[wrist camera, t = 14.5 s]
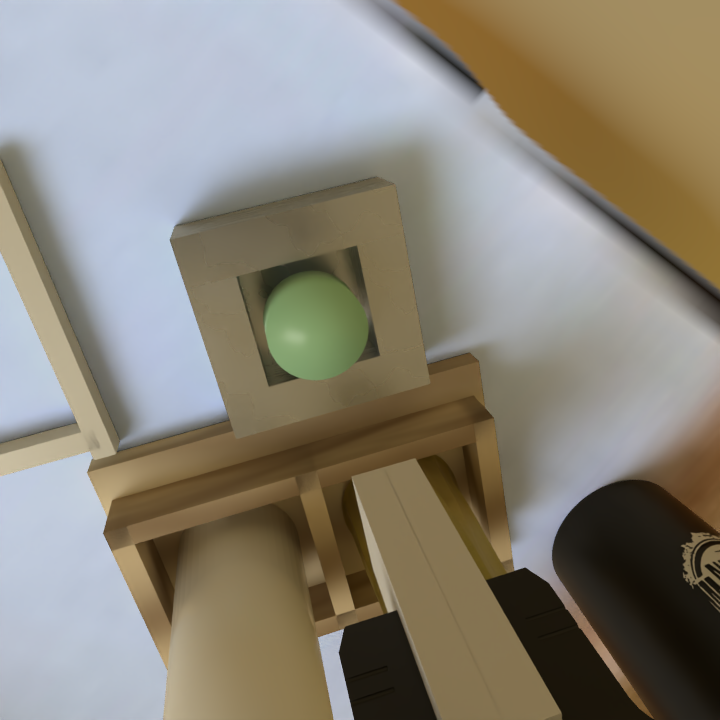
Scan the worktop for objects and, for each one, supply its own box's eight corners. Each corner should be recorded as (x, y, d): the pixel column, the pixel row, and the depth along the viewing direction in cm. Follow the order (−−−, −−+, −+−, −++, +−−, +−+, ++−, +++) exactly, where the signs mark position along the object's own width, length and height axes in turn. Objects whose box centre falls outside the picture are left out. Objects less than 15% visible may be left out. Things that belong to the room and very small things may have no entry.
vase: (319, 524, 32) (389, 804, 19) (381, 427, 31) (499, 658, 18) (415, 559, 34) (535, 833, 21) (476, 470, 33) (644, 705, 20)
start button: (251, 284, 25) (254, 298, 23) (347, 259, 26) (357, 271, 24) (276, 372, 27) (281, 391, 25) (366, 348, 27) (377, 364, 25)
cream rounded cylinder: (161, 518, 30) (121, 818, 17) (282, 482, 31) (328, 745, 18) (199, 610, 33) (188, 930, 20) (311, 575, 33) (368, 863, 21)
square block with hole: (174, 225, 27) (169, 239, 24) (377, 176, 28) (395, 184, 25) (234, 409, 30) (236, 439, 27) (411, 359, 31) (430, 383, 28)
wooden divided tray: (91, 459, 30) (75, 504, 26) (469, 352, 32) (499, 381, 28) (179, 653, 35) (175, 711, 32) (498, 550, 37) (526, 595, 34)
